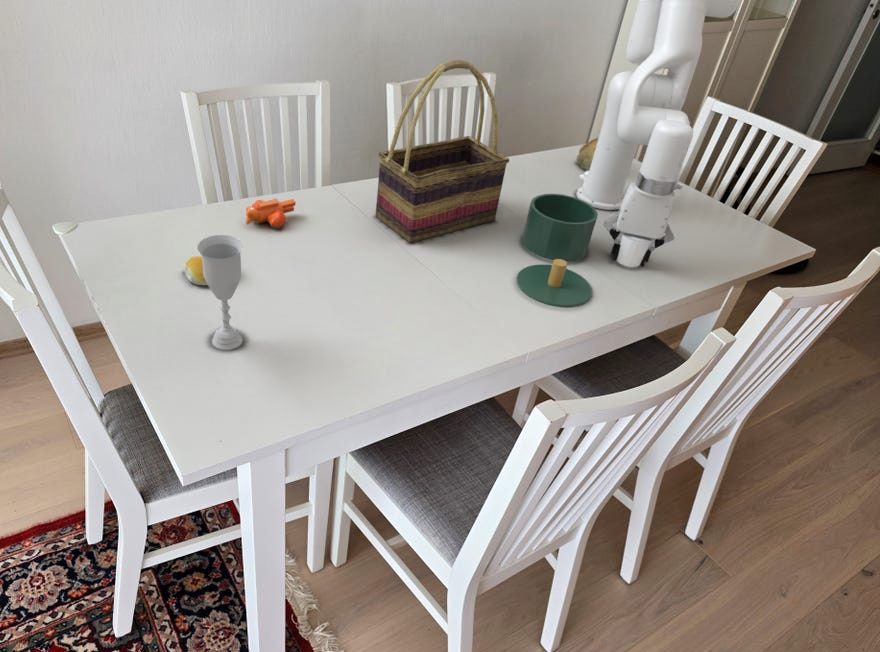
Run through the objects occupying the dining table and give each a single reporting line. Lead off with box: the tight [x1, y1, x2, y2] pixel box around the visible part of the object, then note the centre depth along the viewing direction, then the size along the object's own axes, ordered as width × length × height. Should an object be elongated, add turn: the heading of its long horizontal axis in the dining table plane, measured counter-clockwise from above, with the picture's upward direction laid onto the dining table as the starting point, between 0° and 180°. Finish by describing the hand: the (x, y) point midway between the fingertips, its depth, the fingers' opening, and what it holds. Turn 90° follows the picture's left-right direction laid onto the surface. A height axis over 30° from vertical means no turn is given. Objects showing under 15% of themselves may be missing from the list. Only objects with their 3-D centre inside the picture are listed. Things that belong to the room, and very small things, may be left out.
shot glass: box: [615, 234, 652, 268], centre depth 148 cm, size 7×7×7 cm
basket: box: [375, 59, 510, 244], centre depth 147 cm, size 26×15×35 cm, turn 126°
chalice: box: [197, 234, 244, 351], centre depth 109 cm, size 7×7×18 cm
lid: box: [516, 259, 593, 308], centre depth 137 cm, size 15×15×6 cm
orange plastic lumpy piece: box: [245, 198, 297, 229], centre depth 147 cm, size 5×8×12 cm
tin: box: [521, 193, 599, 262], centre depth 150 cm, size 14×14×10 cm
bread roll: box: [183, 255, 208, 286], centre depth 129 cm, size 8×9×4 cm
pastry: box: [575, 137, 599, 171], centre depth 190 cm, size 14×12×8 cm
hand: (628, 259), depth 150 cm, fingers closed on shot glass, 5 cm apart
